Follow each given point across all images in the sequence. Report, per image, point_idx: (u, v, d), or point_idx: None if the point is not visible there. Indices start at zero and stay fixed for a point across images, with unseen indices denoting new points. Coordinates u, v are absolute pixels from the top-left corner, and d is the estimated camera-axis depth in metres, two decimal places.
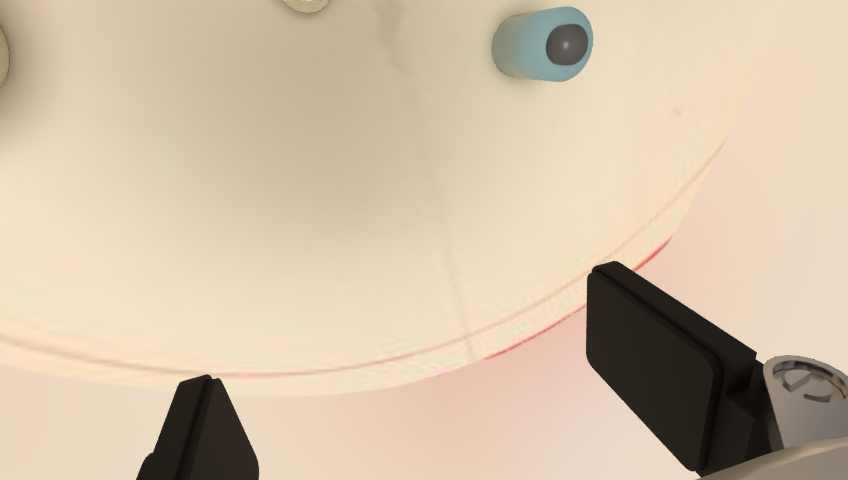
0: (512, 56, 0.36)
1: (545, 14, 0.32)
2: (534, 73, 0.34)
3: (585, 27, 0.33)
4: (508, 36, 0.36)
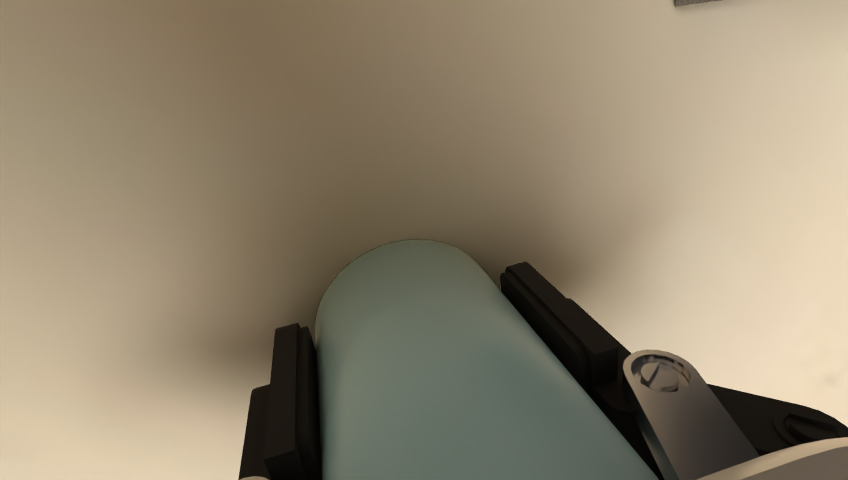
0: None
1: None
2: None
3: None
4: (322, 397, 0.09)
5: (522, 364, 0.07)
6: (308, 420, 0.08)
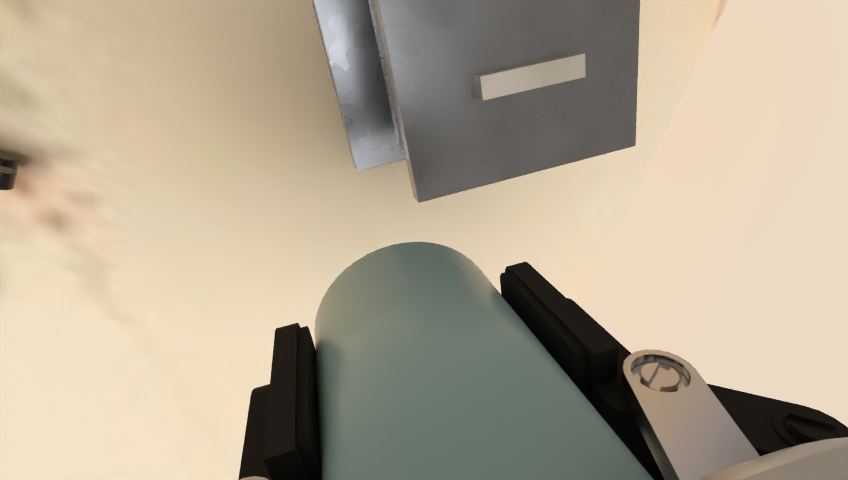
0: None
1: None
2: None
3: None
4: (321, 400, 0.09)
5: (521, 367, 0.07)
6: (308, 420, 0.08)
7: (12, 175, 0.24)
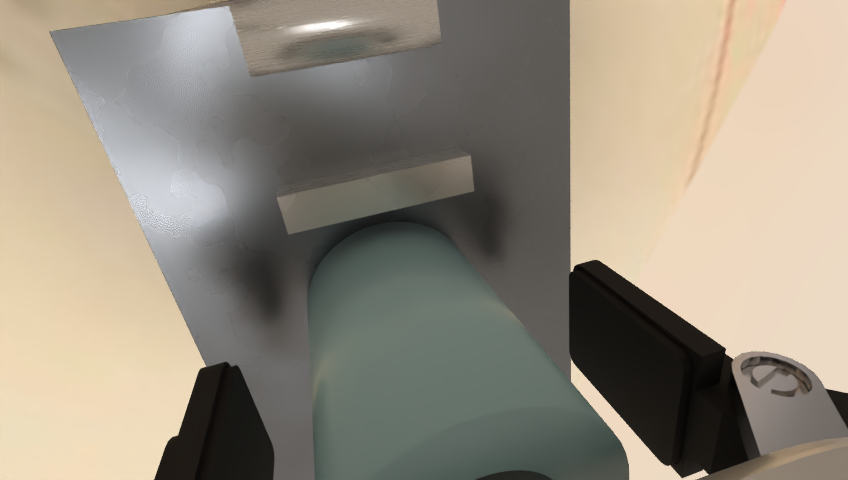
0: None
1: (380, 454, 0.06)
2: None
3: (595, 453, 0.07)
4: (312, 357, 0.10)
5: (479, 316, 0.08)
6: None
7: None
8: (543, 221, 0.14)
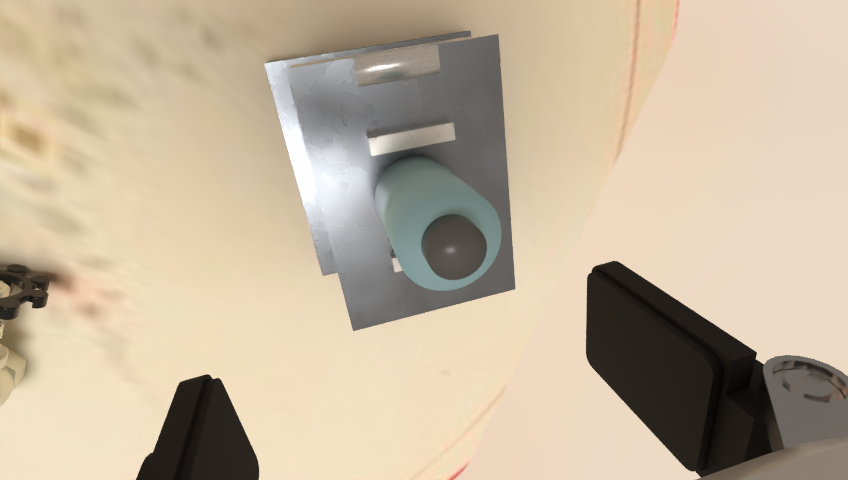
0: None
1: (415, 201, 0.20)
2: None
3: (486, 213, 0.20)
4: (383, 203, 0.24)
5: (451, 177, 0.22)
6: None
7: (45, 297, 0.33)
8: (492, 159, 0.27)
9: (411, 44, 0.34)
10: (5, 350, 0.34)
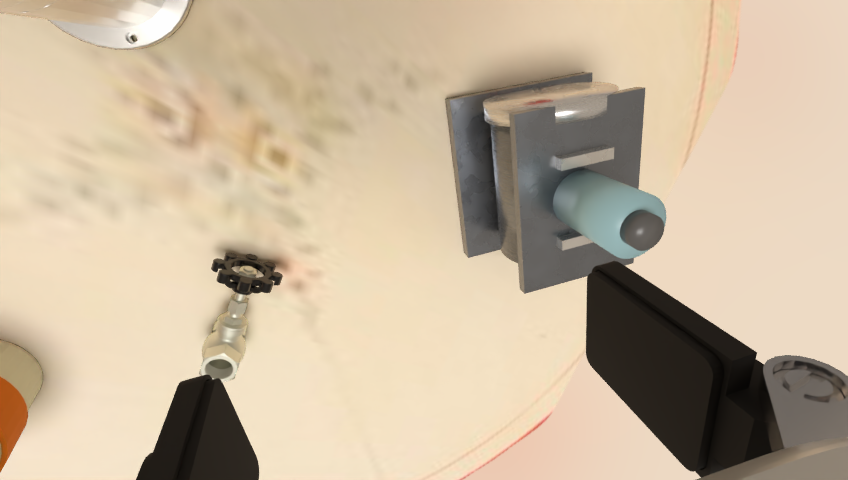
0: (579, 225, 0.35)
1: (620, 202, 0.31)
2: (605, 249, 0.34)
3: (659, 209, 0.32)
4: (575, 203, 0.35)
5: None
6: None
7: None
8: (630, 171, 0.39)
9: (550, 83, 0.45)
10: (244, 318, 0.46)
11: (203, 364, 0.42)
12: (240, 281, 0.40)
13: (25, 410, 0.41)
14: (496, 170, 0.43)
